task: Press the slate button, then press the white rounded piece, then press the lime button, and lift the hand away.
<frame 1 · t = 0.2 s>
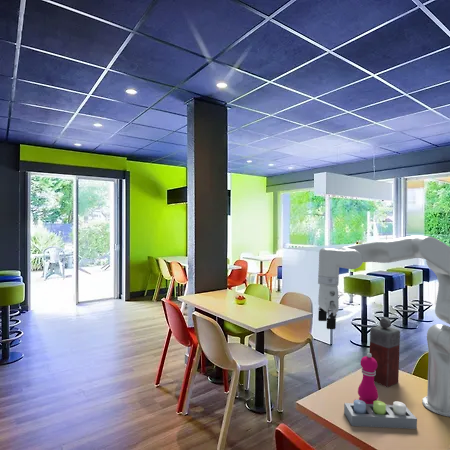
hand: (326, 324, 126), 30 cm above the table, fingers open, 9 cm apart
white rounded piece: (399, 410, 116), point 4 cm above the table, slide at 0.0 cm
brown salt grinder: (384, 380, 147), on the table
lime button: (379, 409, 117), point 4 cm above the table, slide at 0.0 cm
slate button: (359, 408, 117), point 4 cm above the table, slide at 0.0 cm
pepper mill: (367, 405, 127), on the table
panel: (379, 420, 117), on the table
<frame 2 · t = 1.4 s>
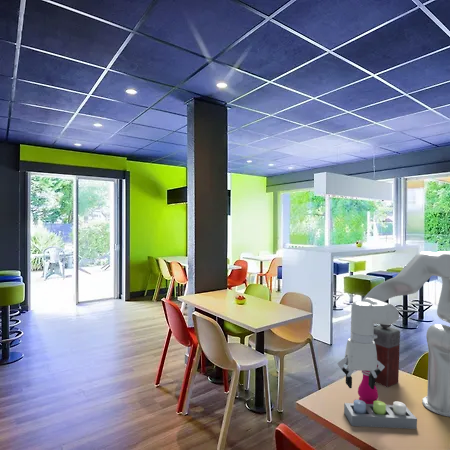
hand: (360, 386, 117), 12 cm above the table, fingers open, 7 cm apart
nothing on the table moved.
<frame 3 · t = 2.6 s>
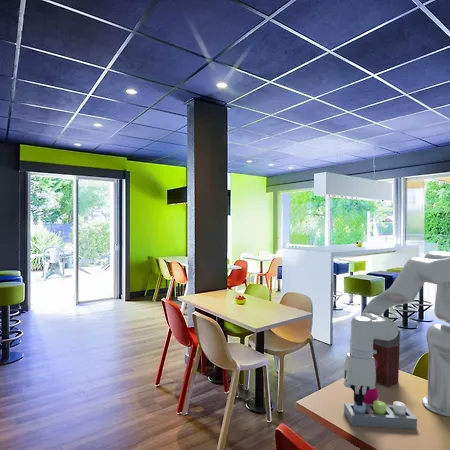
hand: (358, 403, 117), 6 cm above the table, fingers closed
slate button: (359, 409, 117), point 4 cm above the table, slide at 0.3 cm, touching gripper
everything else where it was.
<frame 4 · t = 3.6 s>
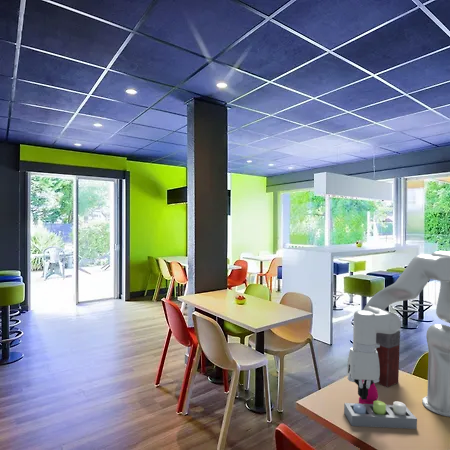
hand: (362, 397, 117), 8 cm above the table, fingers closed
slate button: (359, 412, 117), point 3 cm above the table, slide at 1.4 cm
everything else where it was.
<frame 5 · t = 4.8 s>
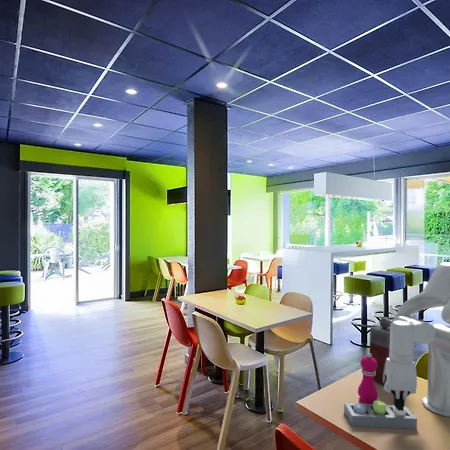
hand: (398, 408, 116), 5 cm above the table, fingers closed
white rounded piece: (399, 413, 116), point 3 cm above the table, slide at 1.4 cm, touching gripper
everything else where it was.
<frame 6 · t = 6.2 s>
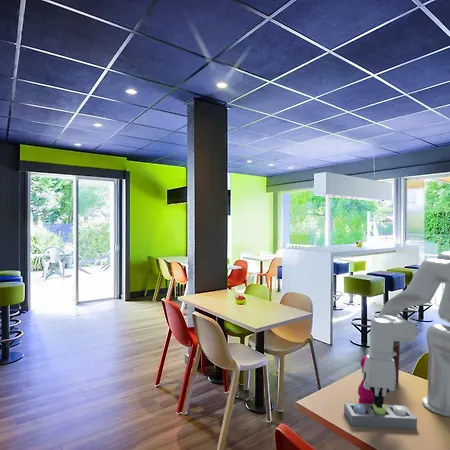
hand: (378, 405, 116), 5 cm above the table, fingers closed
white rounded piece: (399, 414, 116), point 3 cm above the table, slide at 1.5 cm
lime button: (379, 411, 117), point 3 cm above the table, slide at 0.7 cm, touching gripper
everything else where it was.
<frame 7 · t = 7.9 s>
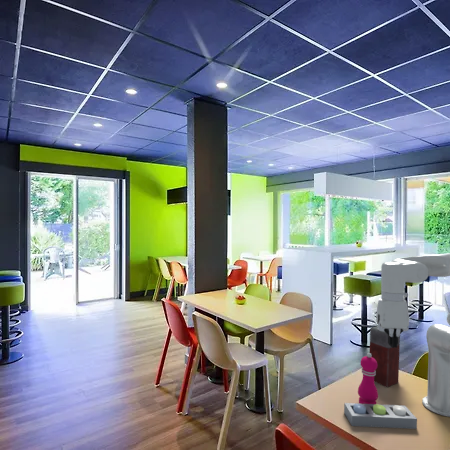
hand: (392, 346, 120), 25 cm above the table, fingers closed
lime button: (379, 413, 117), point 3 cm above the table, slide at 1.4 cm
everything else where it was.
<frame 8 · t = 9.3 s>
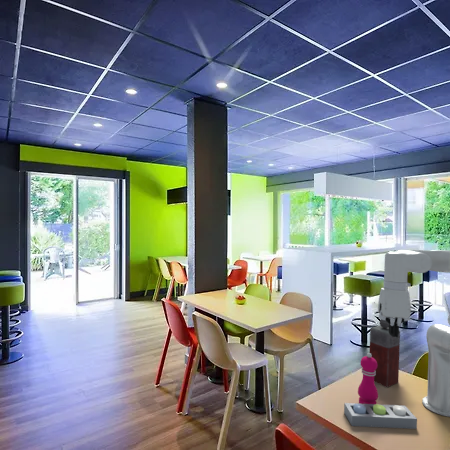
hand: (393, 335, 120), 29 cm above the table, fingers closed
nothing on the table moved.
at the end: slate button slide at 1.4 cm; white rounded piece slide at 1.5 cm; lime button slide at 1.4 cm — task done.
